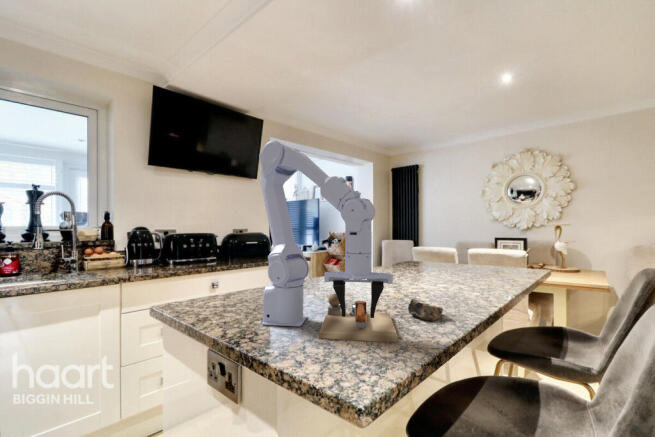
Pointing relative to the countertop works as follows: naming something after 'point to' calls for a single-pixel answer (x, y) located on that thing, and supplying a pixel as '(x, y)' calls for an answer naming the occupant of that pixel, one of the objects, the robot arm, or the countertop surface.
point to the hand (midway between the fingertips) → (357, 316)
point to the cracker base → (346, 326)
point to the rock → (424, 310)
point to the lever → (359, 313)
